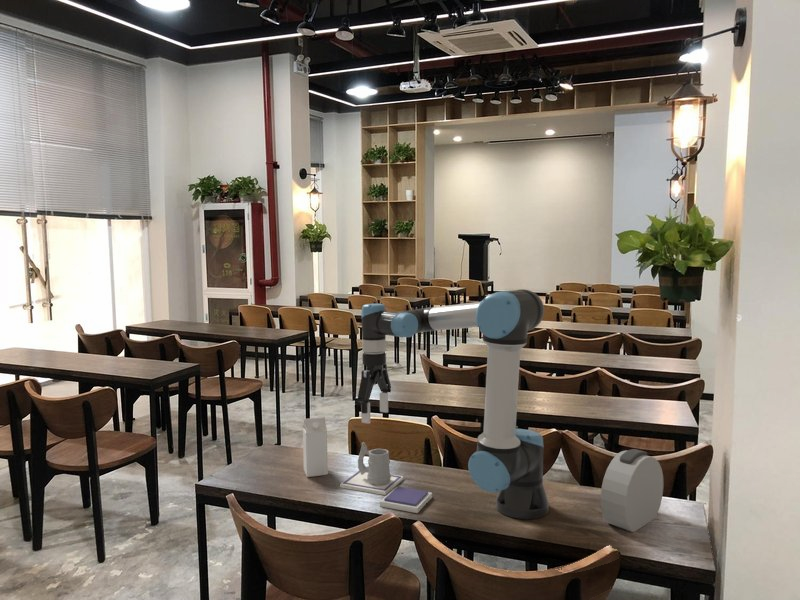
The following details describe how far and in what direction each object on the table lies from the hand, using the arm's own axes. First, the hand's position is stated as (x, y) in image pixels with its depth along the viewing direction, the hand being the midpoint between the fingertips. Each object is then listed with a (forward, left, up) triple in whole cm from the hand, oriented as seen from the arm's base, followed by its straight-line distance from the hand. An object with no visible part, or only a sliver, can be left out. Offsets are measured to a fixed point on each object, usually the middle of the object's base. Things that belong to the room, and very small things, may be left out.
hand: (375, 417), depth 197 cm
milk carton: (+23, 0, -22) cm, 32 cm away
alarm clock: (-78, -3, -22) cm, 81 cm away
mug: (+1, +1, -21) cm, 21 cm away
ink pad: (-15, +10, -22) cm, 28 cm away
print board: (+1, +1, -22) cm, 22 cm away
